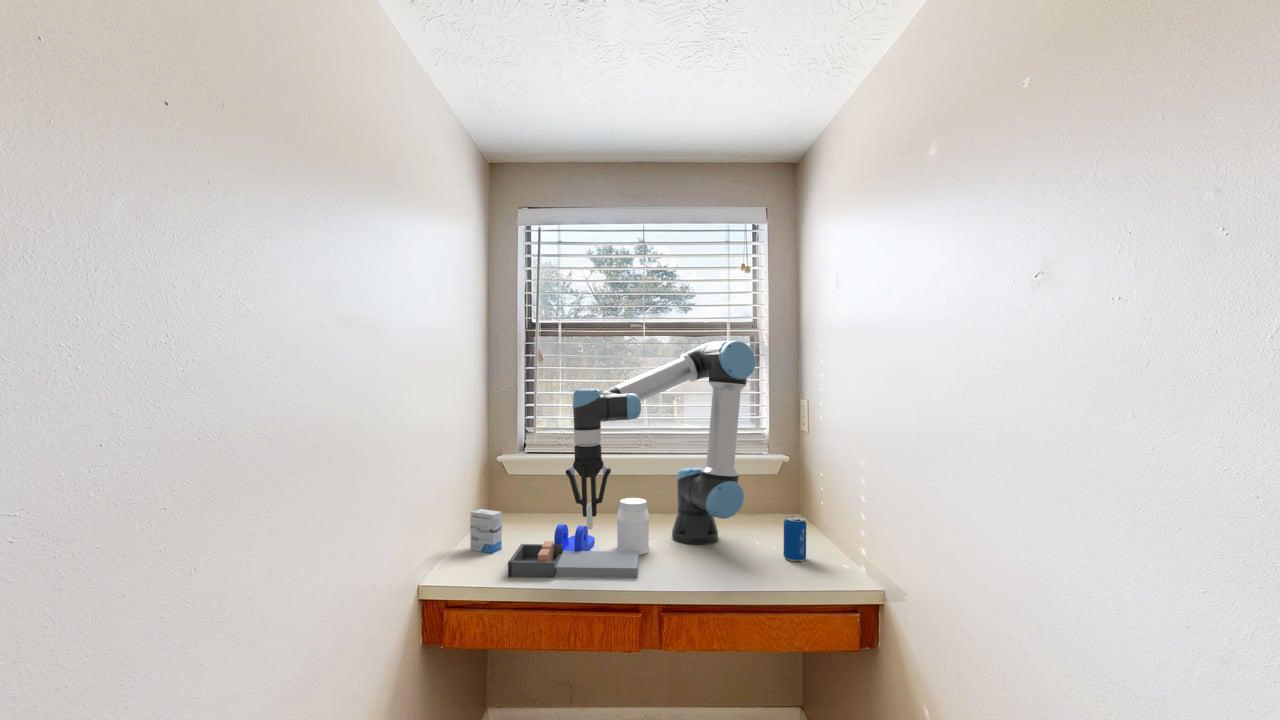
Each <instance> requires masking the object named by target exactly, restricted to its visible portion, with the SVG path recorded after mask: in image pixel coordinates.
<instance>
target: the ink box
mask: <svg viewBox="0 0 1280 720" xmlns="http://www.w3.org/2000/svg"><path fill="white" fill-rule="evenodd" d="M502 514H503V513H502V511H499V510H489V509H486V508H485V509H483V508H479V509H476V510H473V511H471V512H470V542H469V543H470V545H469V546H470V547H469V548H470V549H469V550H470V551H475V552H481V553H488V554H494V553H496V552H499V551H500V550H502V546H503V545H502V542H503V541H502V540H503V539H502V538H503V537H502V532H503V531H502V530H503V529H502V528H503V527H502V525H503V523H502V522H503V521H502V520H503V519H502V518H503V517H502V516H503V515H502Z"/></svg>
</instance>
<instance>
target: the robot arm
mask: <svg viewBox="0 0 1280 720" xmlns="http://www.w3.org/2000/svg"><path fill="white" fill-rule="evenodd" d="M755 367H756V357H755V354H754V351H753V350H752V348H750V346H749V344H747V343H745V342H743V341H740V340H733V339H731V340H720V341H719V340H718V341H715V340H714V341H710V342H706V343H704V344H701V345H699V346H697V347H695V348H693V349H691V350H689V351H687V352H684V353H682V354H681V355H680V357H679V358H678V359H676V360H673V361H671V362H669V363H666V364H665V365H662V366H659V367H657V368H655V369H653V370H650V371H647V372H645V373H642V374H639V375H637V376H635V377H633V378H631V379H629V380H626V381H623V382H622V383H619V384H616V385H615V386H612V387H610V388H607V389H605V390H600V389H598V388H579V389H578V388H577V389H575V390H574V391H573V394H572V411H573V414H572V415H573V443H574V444H575V445H574V448H573V450H574V462H573V464H572V466H571V467H569V468H567V469H566V470H565V474H566V476H567V478H568V479H569V483H570V485H571V490H572V493H573V497H574V500H575V503H576V504H579V505H581V506H582V517H583V518H585V517H586V526H587V529H588V530H593V529H594V518H595V517H596V516H597V513H598V512H597V505H599V504H601V503H603V500H604V495H605V491H606V486H607V480H608V477H609V475H610V474H611V473H612V472H611V471H612V468H611V467H609V466H608V467H607V465H605V464H604V461H603V459H602V445H601V444H600V443H601V442H602V428H601V427H602V426H601V423H603V422H604V423H605V422H613V421H614V422H615V421H629V420H637V419H638V418H639V417H640V415H641V412H642V404H641V403H642V401H644V400H647V399H649V398H652V397H653V396H656V395H657V394H660V393H662V392H665V391H667V390H669V389H671V388H675V387H677V386H678V385H680V384H683V383H685V382H688V381H690V382H695V381H696V382H697V380H700V379H704V378H705V379H707V378H708V383H709V385H710V386H711V387H712V395H711V408H710V409H711V410H710V418H709V420H710V421H709V430H708V442H707V454H706V464H705V466H704V467H703V466H697V467H694V466H693V467H685V468H681V469H679V470H678V471H677V479H676V481H677V515H676V516H675V517H676V518H675V520H674V523H673V526H672V530H671V538H672V540H674V541H676V542H678V543H682V544H689V545H707V544H712V543H714V542H717V541H718V540H719V530H718V526H717V524H716V521H715V518H719V519H730V518H731V517H733V516H735V515H736V513H738V512H739V511H740V510H741V508H742V506H743V504H744V501H745V495H744V494H745V493H744V490H743V488H742V487H741V485H740V484H739V472H738V471H737V470H736V469H735V464H736V463H735V462H736V453H737V452H736V451H737V438H738V427H739V415H740V406H741V405H740V403H741V392H742V390H743V389H744V388H746V386H747V379H748V378H749V377H750V376H751V374H753V373H754V370H755ZM601 470H602V474H603V476H602V481H601V483H600V489H599V494H598V497H597V476H598V475H599V473H600V472H601ZM576 473H577V474H578V475H579V476H580V477H581V478H580V479H581V493H580V491H579V487H578V483H577V478H576V477H575V474H576ZM588 478H590V494H591V495H590V496H591V499H590V500H591V502H590V503H588Z"/></svg>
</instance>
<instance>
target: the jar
mask: <svg viewBox="0 0 1280 720" xmlns="http://www.w3.org/2000/svg"><path fill="white" fill-rule="evenodd" d="M649 514H650V513H649V510H648V508H647V500H646V499H645V498H639V497H626V498H622V499H620V500H619V508H618V511H617V517H616V518H617V519H616V520H617V526H616V527H617V539H616V542H617V543H616V551H621V552H639V556H643V555H646V553H647V554H648V553H650V552H649V551H650V548H649V540H650V539H649V535H650V534H649V529H650V528H649V525H650V524H649V523H650V515H649ZM642 554H643V555H642Z"/></svg>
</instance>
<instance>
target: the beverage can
mask: <svg viewBox="0 0 1280 720" xmlns="http://www.w3.org/2000/svg"><path fill="white" fill-rule="evenodd" d="M805 520H806V519H805V518H804V517H802V516H799V515H787V516H785V518H784V520H783V557H784V558H785V559H786V560H787V561H789V560H790V562H793V561H801V562H803V561H804V560H806V559H807V522H806V521H805ZM802 560H803V561H802Z"/></svg>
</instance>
